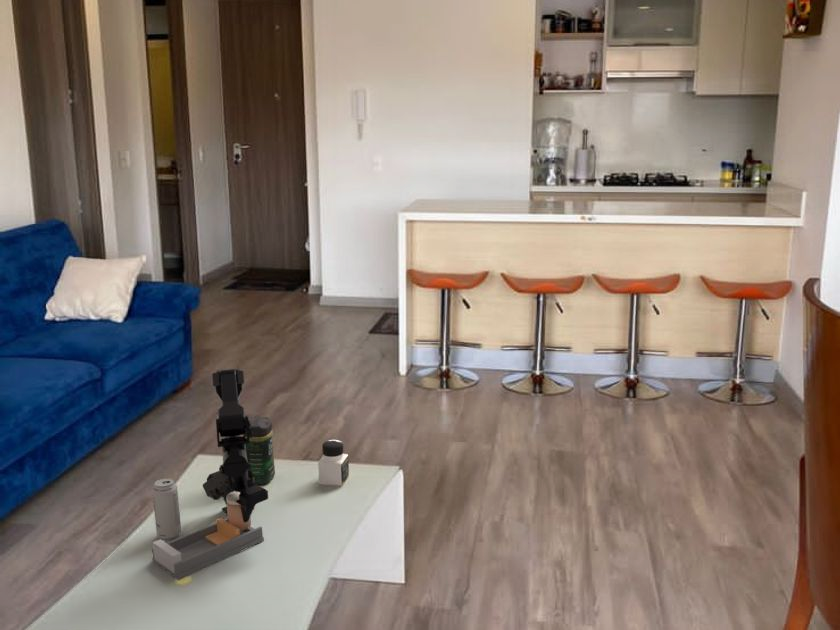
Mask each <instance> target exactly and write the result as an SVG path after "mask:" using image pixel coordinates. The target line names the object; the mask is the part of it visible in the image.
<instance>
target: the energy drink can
mask: <svg viewBox="0 0 840 630" xmlns="http://www.w3.org/2000/svg"><path fill="white" fill-rule="evenodd" d="M153 484H154V486H153V487H152V499H153V500H152V502H153V508H154V509H153V510H154V521H155V522H154V523H155V530H156V531H155V532H156V536H157V537H158V539H159V540H160V539H161V540H162V541H164V542H170V541H172V540H175V539H177V538H179V536H180V534H181V533H182V525H181V524H182V523H181V514H180V513H181V511H180V502H179V491H178V485H177V484H176V482H175V479H174V478H171V477H165V478H159V479H157V480H155V482H154V483H153Z"/></svg>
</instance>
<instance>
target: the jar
mask: <svg viewBox="0 0 840 630" xmlns="http://www.w3.org/2000/svg"><path fill="white" fill-rule="evenodd" d="M239 494H240V492H235V491H234V492H231V493H229V494H228V495H227V496H226V502H227V513H226V514H227V518H228V522H229V523H230V524H232V525H234V526H235V527H237V528H239V531H241V530H245V529H247V528H249V527H252V520H251V519H252V518H251V516H252V515H251V516H250V518H249V520H248V522H244V521H243V517H242V511H241V506H240V504H238V503H236V502H235V501H237V500H239Z"/></svg>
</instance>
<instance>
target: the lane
mask: <svg viewBox="0 0 840 630" xmlns="http://www.w3.org/2000/svg"><path fill="white" fill-rule="evenodd" d="M222 519H223V520H225V521H227V522H228V517H225V518H222ZM215 532H217V521H216V522H213V523H212V524H209V525H207V526H203V527H202V528H201V527H200V528H199V529H197V530H194V531H192V532H189V533H187V534H185V535H182V536H180V537H178V538H176V539H174V540H171V541H162V540H161V539H160V538H159V539H158V540H155V541H153V542H152V546H153V547H152V549H151V550H152V552H151V553H152V557H151V560H152V561H151V562H153V563H154V564H155V565H157V566H159V567H160V568H161V569H162V570H164V571H165V572H167V573H168V574H169V575H171V576H172V577H173V578H175V579H176V580H180V579H183V578H185V577H186V576H187V577H188V576H190V575H191V574H194V573H196V572H199V571H200V570H202V569H205V568H207V567H210V566H212V565H214V564H216V563H218V562H220V561H223V560H225V559H227V558H229V557H231V556H233V555H236V554H238V553H240V552H242V550H243V551H245V550H247V549H249V548H251V547H253V545H254V546H256V545H257V543H258V544H260V543H262V541H263V542H264V541H265V538H264V536H263V527H261V526H258V527H256V528H254V527H252V526H250V527H249V528H247V529H245V530H241V531H239V532H240V535H239V536H237V537H235V538H233V539H230V540H228V541H226V542H223V543H221V544H219V545H215V544H213V543H212V542H210V541H208V540H207V539H205V536H208V535H210V534H212V533H215ZM255 544H256V545H255ZM250 546H251V547H250ZM246 548H247V549H246ZM244 549H245V550H244Z"/></svg>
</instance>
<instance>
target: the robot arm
mask: <svg viewBox="0 0 840 630" xmlns="http://www.w3.org/2000/svg"><path fill="white" fill-rule="evenodd" d="M244 373H245V372H244V370H239V368H236V369H235V368H228V369H220V370H216V372H214V373H211V377H212V388H213V389H215V393H216V396H217V397H218V399H219V400H220V401H221V402H222V405H221V406H220V408H218V410H217V411H218V412H217V413H218V418H215V425H216V438H217V439H216V440H217V447H218V448H220V447H221V452H222V464H221V465H219V468H218V470H217V471H215V472H212V473H209V475H208V476H207V477H206V481H205V482H204V483H202V488H203V490H204V492H205V494H206V496H207V497H208V498H210V499H212V500H214V501H218V500H220V499H221V498H222V499H223V501H224V503H225V505H226V506H225V507H222V508H221V511H222V512H224V513H225V514H227V502H226V496H227V495H228V494H229V493H231V492H234V491H235V492H240V494H239V500H237V501H235V502H236V503H238V504H240V506H241V511H242V517H243V521H244V522H248V520H249V518H250V516H252V513H253V511H255V506H256V505H257V504H259V503H262V502H264V501H267V500H269V490H267V489H265V488H264V487H262V486H260V485H255V484H254V474H253V473H252V471H251V469H248V468H250V467H251V465H250V463H248V462H247V455H246V444H250V440H249V438H252V435H251V424H250V420H251V419H249V416H248V415H245V409H244V407H243V406H242V405H241V404H240V403H239V399H240V396H241V394H242V392H243V386H245V377H244V375H245V374H244ZM245 430H246V431H245ZM246 433H247V438H245V436H243V435H244V434H246ZM220 438H221V440H220Z"/></svg>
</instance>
